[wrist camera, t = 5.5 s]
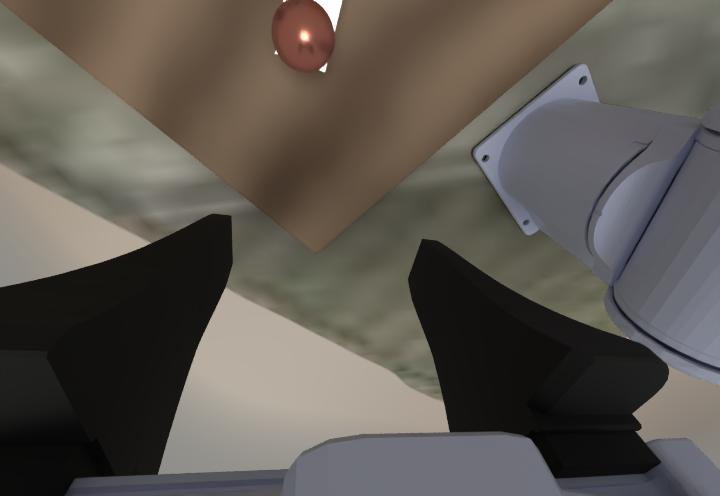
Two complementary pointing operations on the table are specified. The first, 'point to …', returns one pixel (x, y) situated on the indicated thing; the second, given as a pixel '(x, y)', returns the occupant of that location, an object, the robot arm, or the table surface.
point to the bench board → (309, 87)
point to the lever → (305, 33)
